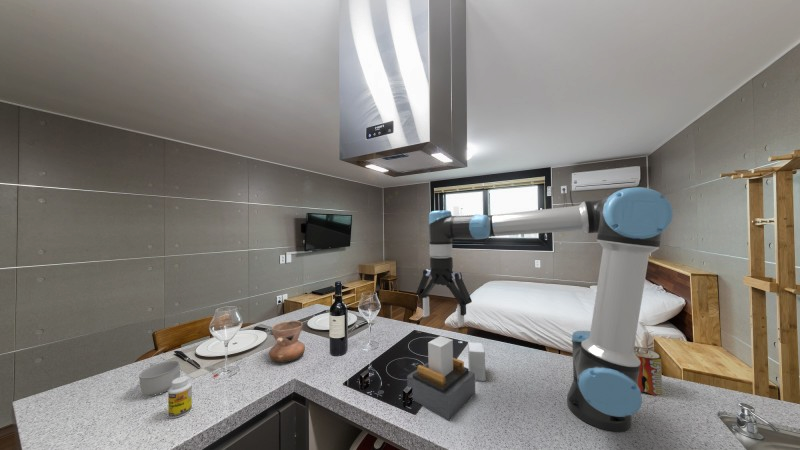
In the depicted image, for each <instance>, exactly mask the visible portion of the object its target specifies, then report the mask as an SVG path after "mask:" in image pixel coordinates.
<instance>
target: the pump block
mask: <svg viewBox="0 0 800 450" xmlns="http://www.w3.org/2000/svg"><path fill="white" fill-rule="evenodd" d="M453 341H454V340H453V339H451V338H448V337H445V336H442V335H440V336H437V337H436V338H433V339H432V340H430V341H429V342H427V350H428V352H427V355H428V357H427V358H428V359H427V360H428V362H429V369H431V370H433V371H435V372H437V373H440V374H442V375H444V376H446V375H447V374H449V373H450V372H451V371H452V370H453V358H454V344H453V343H454V342H453ZM428 362H427V363H428Z"/></svg>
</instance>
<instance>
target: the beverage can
mask: <svg viewBox="0 0 800 450" xmlns="http://www.w3.org/2000/svg"><path fill="white" fill-rule="evenodd" d="M633 352H634V354H635V355H636V356H637V358H638V359H639V360H640V362H641V363H640V370H639V376H638V383H637V385H638V387H639V388H640V391H641V394H644V395H647V396H652V397H654V396H655V397H658V396H657V395H659V396H661V395H663V386H662V385H663V378H662V376H663V374H662V355H661V354H660V353H658V352H657V351H655V350H652V349H650V348H647V347H641V346H635V345H634V351H633Z"/></svg>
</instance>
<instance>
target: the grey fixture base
mask: <svg viewBox="0 0 800 450" xmlns="http://www.w3.org/2000/svg"><path fill="white" fill-rule="evenodd" d="M406 382H407V383H406V384H407V386H406V387H411V388H413V391H412V393H413V400H414V402H415V403H416V404H419V405H420V404H421V405H420V406H422V407H424V408H426V409H427V410H429V411H431V412H433V413H435V414H437V416H440V417H442V418H443V419H445V420H447V421H448V422H450V421H452V419H453V418H454V417H455V416H456V415H457V413H459V412H460V411H461V410H462V408H464V407H465V405H467V403H468V402H469V401H470V400H471V399H472V398H473V397H474V396H475V395H476V380H475V373H473V372H471V371H469V367H466V366H465V361H463V360H460V359H458V358H455V357H453V370H452V371H451V372H450V373H449V374H447V375H446V376H444V375H442V374H440V373H437V372H435V371H433V370H431V369H429V362H427V363H425V364H423V365H421V364H419V365H417V369H415V370H414V371H412V372H411V373H410V374H408V375H407V376H406ZM413 400H412V401H413Z"/></svg>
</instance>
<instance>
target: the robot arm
mask: <svg viewBox="0 0 800 450" xmlns="http://www.w3.org/2000/svg"><path fill="white" fill-rule="evenodd" d="M673 209H674V208H673V205H672V204H671V202H670V201H669V199H668V198H667V197H666V196H665V195H663V193H661V192H659V191H658V190H654V189H652V188H648V187H639V186H638V187H637V186H635V187H627V188H622V189H620V190H617V191H615V192H613V193H612V194H611V195H608V196H606V197H603V198H599V199H594V200H588V201H582V202H581V203H580V204H579V205H573V206H562V207H555V208H554V207H553V208H546V209H537V210H536V209H535V210H527V211H518V212H510V213H509V212H508V213H500V214H498V213H497V214H489V215H487V214H471V215H470V214H469V215H453V214H452V212H451V210H448V209H447V210H444V209H443V210H432V211H431V212H429V215H428V232H429V237H428V238H429V256H430V257H429V268H430V269H429V268H427V269H424V270H422V277H421V280H420V283H419V285H418V287H417V290H416V295H417V296H420V298H421V299H420V300H421V303H420V304H421V307H422V312H423V313H422V316H423V318H426V317H427V318H428V317H429V316H430V314H431V313H430V312H431V311H430V297H429V294H430V292H431V291H432V290H433V288H434V287H435V286H436V285H441V286H446V288H448V289H449V291H450V293H451V294H452V295H453V297H454V298H455V299H456V301H457V303H458V304H457V306H456V309H457V312H456V313H457V327H461V326H463V325H465V316H466V315H467V305H469V304H471V303H472V301H473V300H472V297H471V296H470V294H469V291H468V288H467V287H466V284H465V282H464V280H463V276H462V273H461V272H453V267H454V263H453V262H454V261H453V257H452V256H453V240H457V239H458V240H460V239H461V240H481V239H482V240H483V239H488V238H491V237H492V238H493V237H502V236H503V237H504V236H519V235H531V234H533V235H534V234H547V233H550V234H551V233H562V232H563V233H564V232H575V231H576V232H579V231H582V232H584V233H585V234H597V237H596V241H597V243H598V244H600V246H601V247H602V254H601V260H600V265H599V267H600V268H599V272H598V280H597V285H596V286H597V287H596V293H595V298H594V299H595V300H594V306H593V313H592V319H591V325H590V330H589V331H588V330H576V331H574V332H573V333H572V336H571V337H572V338H571V344H572V345H571V346H572V373H573V374H572V375H573V376H572V377H573V379H572V382H571V384H570V387H569V390H568V392H567V396H566V403H567V407H568V409H569V410H570V412H571V413H572V415H573V414H574V415H575V416H576V417H577V418H578V419H579V420H581V421H582V422H584V423H587V424H588V425H590V426H593V427H594V428H598V429H601V430H605V431H609V432H626V431H629V429H630V428H631V427H632V415H634V414H636V413H637V412H638V411H639V410H640V409H641V407H642V403H643V397H642V396H643V395H642V393H641V391H640V388H639V387H638V385H637V383H638V376H639V370H640V363H641V362H640V360H639V359H638V358H637V356H636V355H635V354H634V352H633V351H634V346H635V343H636V338H637V337H636V336H637V331H638V325H639V320H640V319H639V318H640V314H641V313H640V312H641V306H642V301H643V294H644V288H645V281H646V276H647V270H648V263H649V257H650V255H651V254H652V253H654V252H655V251H657V250H659V249H660V246H661V241H662V236H663V232H664V231H665V230H667V228H668V227H669V226H670V225H671V223H672V220H673V217H674V210H673ZM430 277H431V279H430ZM429 279H430V281H429ZM428 281H429V283H428Z"/></svg>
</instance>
